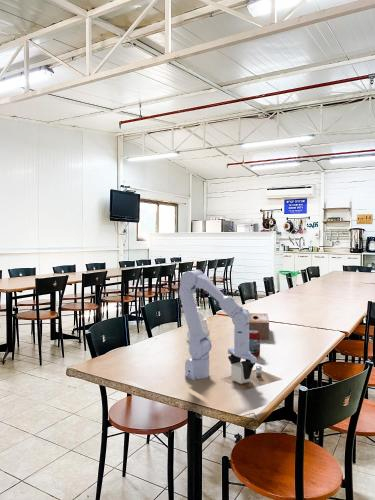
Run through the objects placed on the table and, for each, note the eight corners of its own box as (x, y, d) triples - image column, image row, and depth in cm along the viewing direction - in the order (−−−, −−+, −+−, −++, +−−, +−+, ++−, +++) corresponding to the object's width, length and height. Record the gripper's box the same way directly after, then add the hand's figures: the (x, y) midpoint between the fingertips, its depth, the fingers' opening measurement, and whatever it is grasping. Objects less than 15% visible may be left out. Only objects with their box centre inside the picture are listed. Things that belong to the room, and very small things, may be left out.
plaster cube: (240, 383, 147) (240, 368, 147) (231, 379, 152) (231, 364, 151) (251, 380, 150) (252, 365, 150) (242, 376, 155) (242, 361, 154)
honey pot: (189, 336, 225) (189, 305, 224) (211, 337, 222) (211, 306, 222) (184, 342, 212) (184, 309, 212) (207, 343, 210) (207, 310, 209)
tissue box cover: (268, 340, 215) (269, 322, 215) (242, 339, 218) (242, 322, 217) (267, 329, 241) (267, 313, 240) (243, 328, 243) (243, 313, 243)
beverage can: (244, 357, 186) (244, 332, 185) (247, 353, 192) (247, 329, 192) (258, 358, 183) (258, 333, 183) (261, 354, 190) (261, 330, 189)
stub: (258, 378, 154) (258, 368, 154) (254, 377, 156) (254, 366, 156) (262, 377, 155) (262, 367, 155) (258, 375, 157) (258, 365, 157)
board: (244, 394, 142) (244, 390, 142) (220, 382, 154) (220, 378, 154) (282, 382, 153) (282, 379, 153) (257, 372, 165) (257, 368, 165)
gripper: (262, 344, 146) (262, 379, 147) (237, 336, 158) (237, 368, 159) (248, 347, 142) (248, 383, 143) (223, 338, 155) (223, 372, 155)
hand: (241, 376), depth 151 cm, fingers closed on plaster cube, 6 cm apart
